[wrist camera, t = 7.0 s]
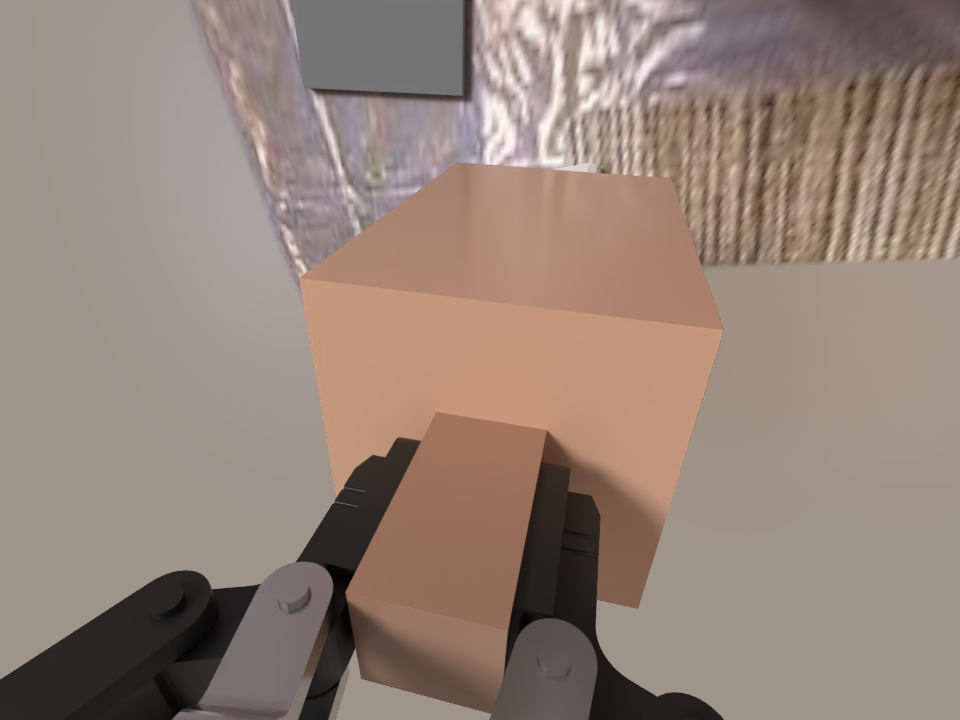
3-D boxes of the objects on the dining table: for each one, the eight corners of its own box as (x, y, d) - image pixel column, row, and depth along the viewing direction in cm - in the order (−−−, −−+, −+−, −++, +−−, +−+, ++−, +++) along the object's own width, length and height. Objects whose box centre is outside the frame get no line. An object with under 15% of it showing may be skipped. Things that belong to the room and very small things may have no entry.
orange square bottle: (670, 178, 20) (796, 535, 6) (631, 365, 25) (643, 832, 10) (457, 162, 22) (118, 410, 7) (456, 340, 26) (249, 715, 12)
